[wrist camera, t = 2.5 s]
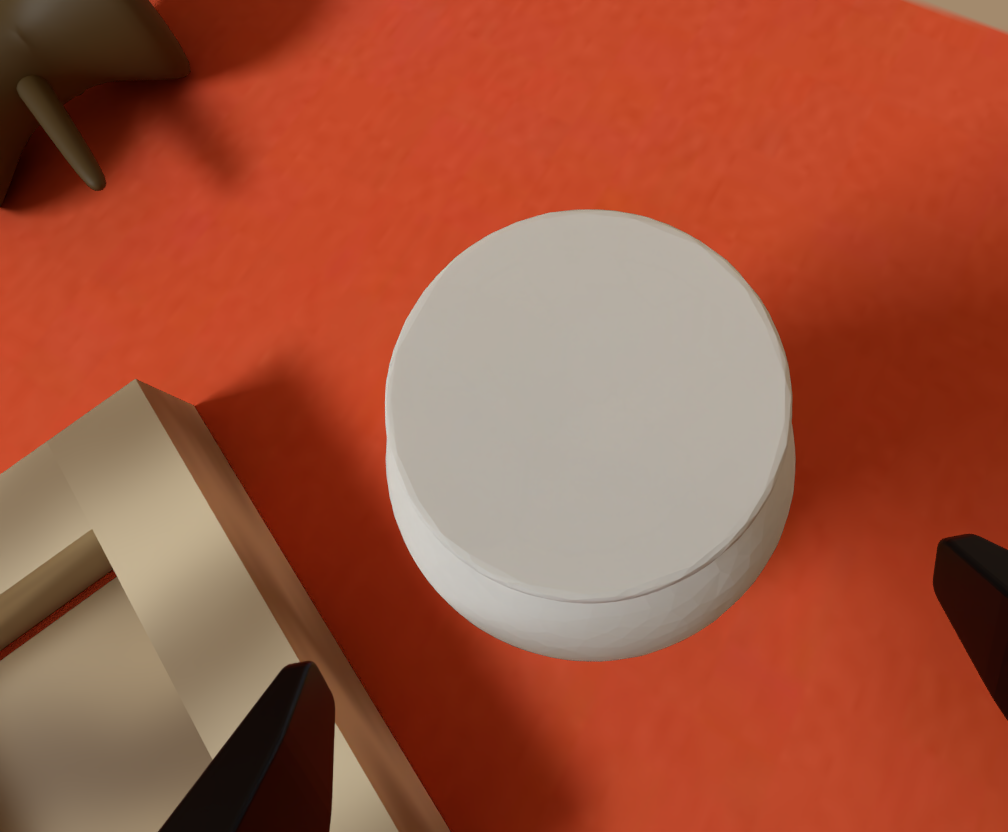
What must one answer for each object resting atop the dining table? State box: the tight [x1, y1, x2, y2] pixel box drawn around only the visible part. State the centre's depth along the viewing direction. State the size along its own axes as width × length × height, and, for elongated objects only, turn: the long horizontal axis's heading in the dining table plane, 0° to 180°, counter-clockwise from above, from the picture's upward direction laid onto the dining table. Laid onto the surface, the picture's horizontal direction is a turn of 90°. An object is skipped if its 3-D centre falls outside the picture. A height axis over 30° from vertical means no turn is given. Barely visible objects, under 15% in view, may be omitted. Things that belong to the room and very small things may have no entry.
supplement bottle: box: [385, 210, 796, 661], centre depth 14 cm, size 7×7×13 cm
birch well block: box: [0, 379, 451, 832], centre depth 19 cm, size 16×16×3 cm
